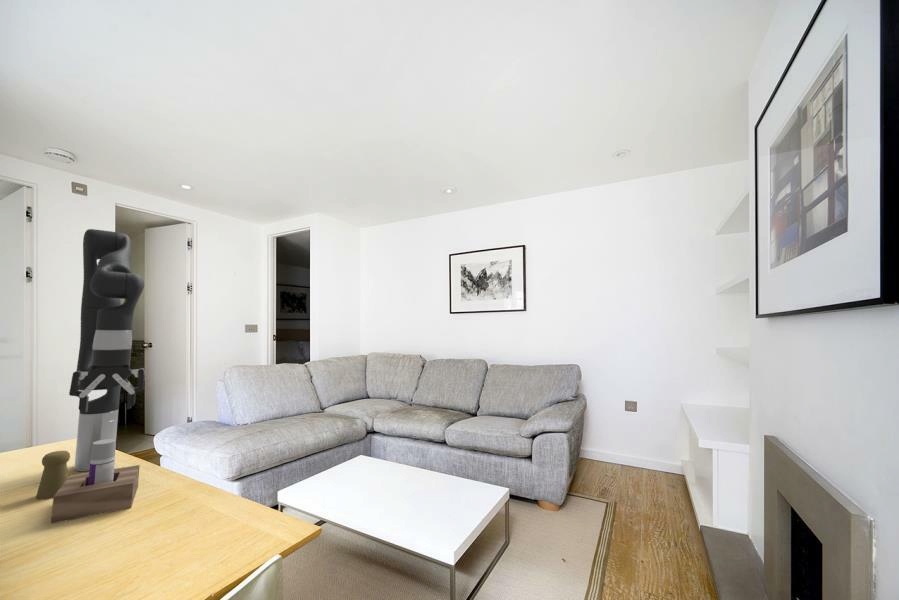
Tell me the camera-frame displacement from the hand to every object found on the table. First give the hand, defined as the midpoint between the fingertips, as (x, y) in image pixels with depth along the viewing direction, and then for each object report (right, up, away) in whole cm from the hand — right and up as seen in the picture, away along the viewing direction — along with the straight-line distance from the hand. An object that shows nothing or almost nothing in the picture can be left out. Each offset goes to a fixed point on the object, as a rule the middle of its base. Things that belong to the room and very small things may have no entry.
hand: (107, 410), depth 95 cm
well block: (-1, -23, -2) cm, 23 cm away
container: (-1, -23, -2) cm, 23 cm away
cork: (-17, -24, +3) cm, 29 cm away
